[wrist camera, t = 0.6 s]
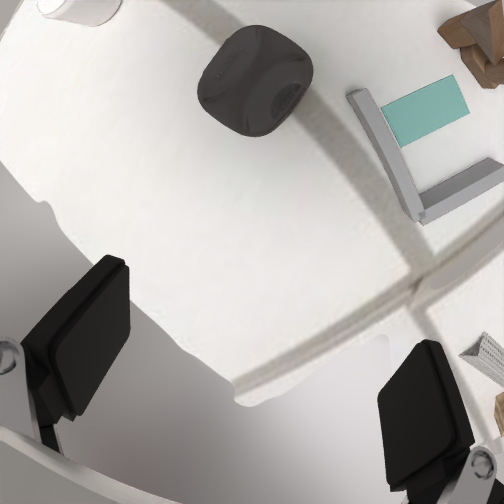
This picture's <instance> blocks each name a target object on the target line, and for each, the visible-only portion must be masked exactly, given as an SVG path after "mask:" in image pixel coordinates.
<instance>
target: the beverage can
mask: <svg viewBox="0 0 504 504" xmlns="http://www.w3.org/2000/svg"><path fill="white" fill-rule="evenodd" d="M120 2H121V0H36V9H37V11H38V12H39V13H41V14H42V16H44V17H45V18H48V19H55V20H61V21H67V22H72V23H77V24H82V25H87V26H97V25H100V24H102V23H104V22H106V21H107V20H108V19H110V18H111V17H112V16H113V14H114V13H115V12H116V10H117V9H118V7H119V5H120Z"/></svg>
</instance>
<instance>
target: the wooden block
mask: <svg viewBox="0 0 504 504" xmlns="http://www.w3.org/2000/svg"><path fill="white" fill-rule="evenodd" d="M438 33H439V34H440V35H441V36H442V37H443V38H444V39H445V40H446V42H447V43H448V44H449V45H450V46H451V47H452V48H453V49H456V48H460V47H461V56H462V60H463V62H464V63H465V64H466V66H467V67H468V68H469V70H470V71H471V72H472V74H473V75H474V76H475V78H476V79H477V80H478V82H479V83H480V85H481V86H482V87H483V88H488V89H495V88H496V87H497V86H498V85H499V84H504V58H503V57H504V15H503V7H502V0H495V1H492V2H489V3H487V4H484V5H482V6H479V7H477V8H474V9H472V10H471V11H467V12H465V13H463V14H460V15H458V16H456V17H453V18H451V19H449V20H448V21H447V22H445V23H444V24H443V25H442V26H441V27H440V28H439V29H438Z"/></svg>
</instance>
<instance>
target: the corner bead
mask: <svg viewBox="0 0 504 504" xmlns="http://www.w3.org/2000/svg"><path fill="white" fill-rule="evenodd" d="M483 337H484V339H483ZM483 337H482V342H481V344H480V348H479V353H478V355H477V356H468V355H464V356H462V355H458V356H459V357H460V358H462V359H463V360H465V361H466V362H467V363H469V364H470V365H472V366H473V367H475V368H476V369H478V370H479V371H480V372H482V373H483V374H485V375H486V376H487V377H489V378H490V379H492V380H493V381H494V382H496V383H497V384H499V385H500V386H501V387H504V356H503V354H504V351H503V350H504V349H503V348H502V347H500V345H498V343H497V342H496V341H495V340H494V339H493V338H492V337H491V336H490V335H489V336H488V334H486V332H485V331H484V333H483ZM490 337H491V338H490ZM486 338H487V339H486ZM492 339H493V340H492ZM488 340H489V342H488ZM494 341H495V342H494ZM490 342H491V344H490ZM496 343H497V344H496ZM492 344H493V346H492ZM481 345H482V348H481ZM494 345H495V348H494ZM496 347H497V349H496ZM483 348H484V350H483ZM498 349H499V350H498ZM485 351H486V352H485ZM487 353H488V354H487ZM490 353H491V354H490ZM501 353H502V355H501ZM483 354H484V355H483ZM485 356H486V357H485ZM493 358H494V359H493ZM501 358H502V359H501ZM491 361H492V362H491ZM497 361H498V362H497ZM499 361H500V363H499ZM501 363H502V364H501ZM495 364H496V365H495ZM497 366H498V367H497ZM502 370H503V371H502Z"/></svg>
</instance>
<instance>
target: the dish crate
mask: <svg viewBox="0 0 504 504" xmlns="http://www.w3.org/2000/svg"><path fill="white" fill-rule="evenodd" d="M494 417H495V419H496V422H497V425H498V428H499V431H500V434H501V437H503V436H504V392H503V393H501V394H499V395H497V396H496V403H495V413H494Z"/></svg>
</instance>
